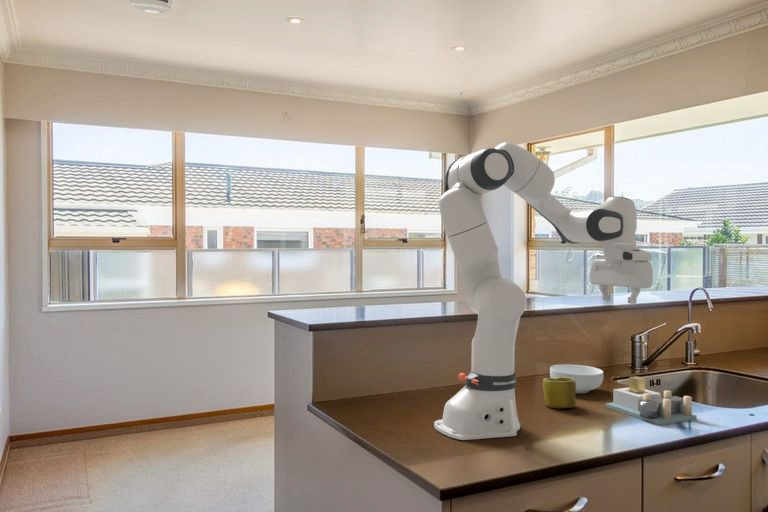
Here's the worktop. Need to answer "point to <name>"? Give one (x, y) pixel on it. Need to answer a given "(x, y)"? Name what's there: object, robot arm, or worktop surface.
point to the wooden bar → (637, 385)
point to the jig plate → (657, 421)
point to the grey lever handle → (660, 407)
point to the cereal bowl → (579, 376)
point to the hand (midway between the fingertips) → (618, 302)
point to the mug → (559, 392)
